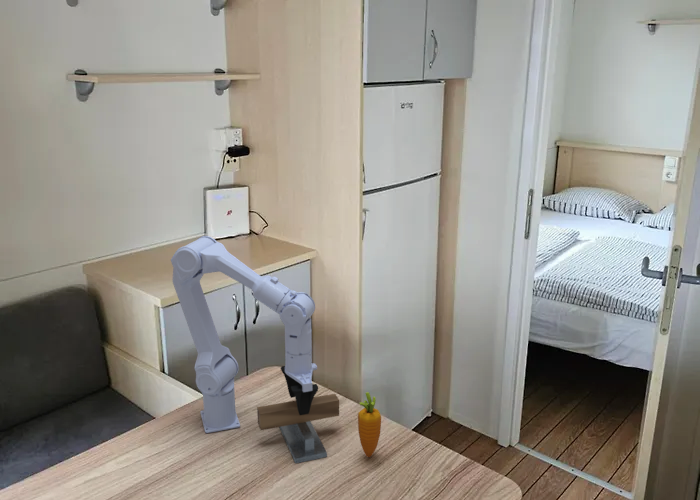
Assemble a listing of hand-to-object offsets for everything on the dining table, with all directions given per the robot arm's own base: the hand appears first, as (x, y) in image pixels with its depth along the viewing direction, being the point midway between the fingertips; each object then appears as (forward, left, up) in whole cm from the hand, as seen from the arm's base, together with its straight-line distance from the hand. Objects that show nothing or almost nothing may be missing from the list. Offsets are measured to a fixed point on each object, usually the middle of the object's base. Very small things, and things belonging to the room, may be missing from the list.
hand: (299, 404), depth 141 cm
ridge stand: (0, 0, -8) cm, 8 cm away
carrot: (+12, +12, -8) cm, 19 cm away
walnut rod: (0, 0, -4) cm, 4 cm away
